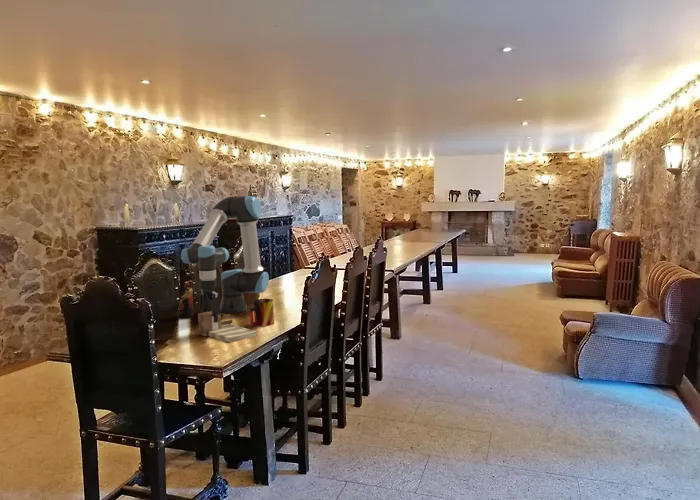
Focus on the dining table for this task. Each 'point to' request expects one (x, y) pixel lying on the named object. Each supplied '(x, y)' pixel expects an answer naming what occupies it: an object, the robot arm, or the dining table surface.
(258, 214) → the robot arm
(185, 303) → the statue
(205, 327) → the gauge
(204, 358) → the dining table surface
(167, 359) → the dining table surface
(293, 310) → the dining table surface
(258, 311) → the mug
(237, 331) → the board
